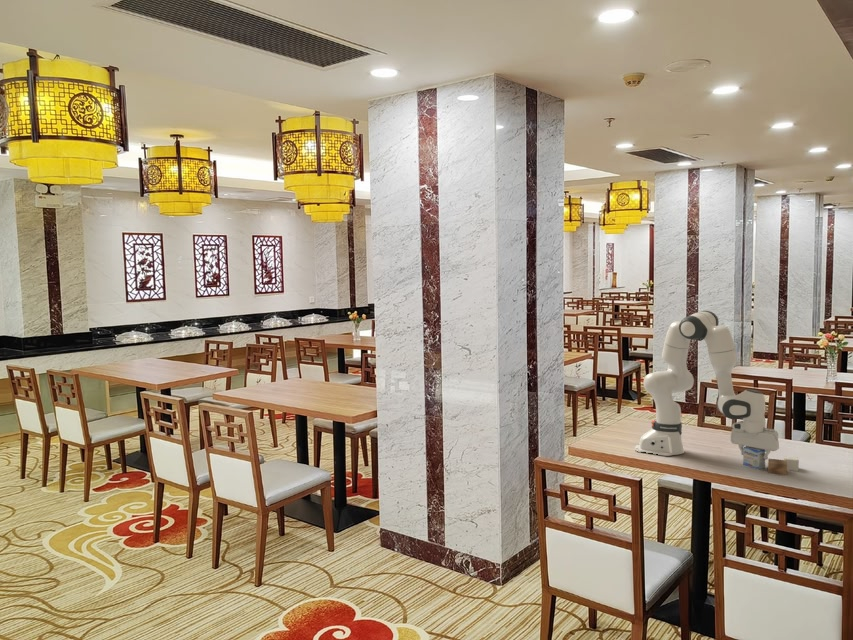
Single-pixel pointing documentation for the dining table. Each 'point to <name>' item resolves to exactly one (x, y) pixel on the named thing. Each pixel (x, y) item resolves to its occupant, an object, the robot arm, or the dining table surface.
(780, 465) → the walnut block
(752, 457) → the medicine box
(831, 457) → the dining table surface
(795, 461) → the cream block
